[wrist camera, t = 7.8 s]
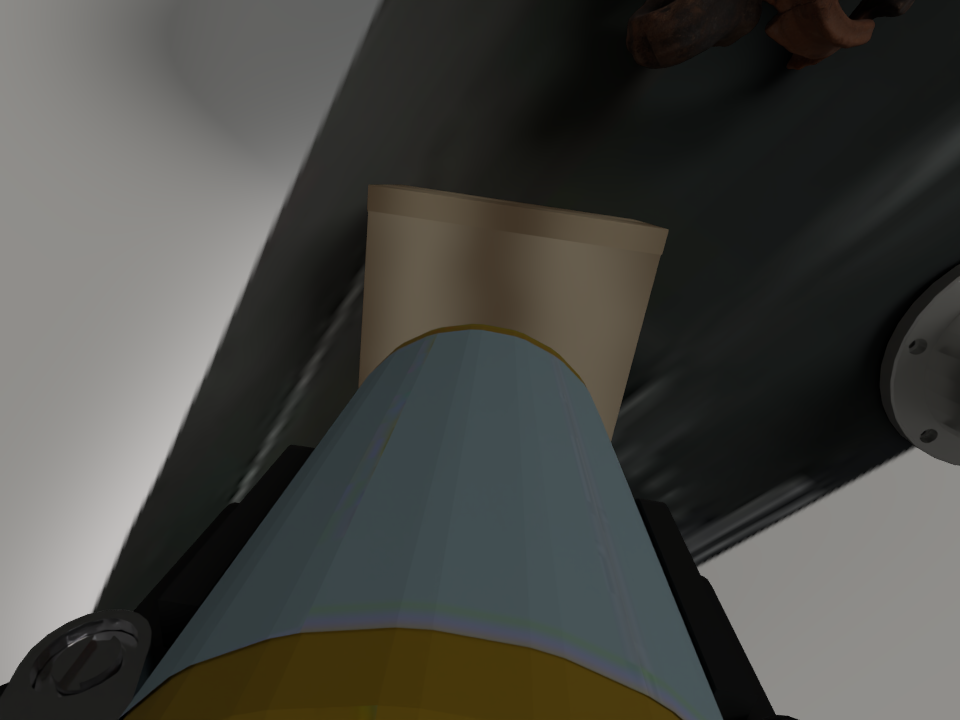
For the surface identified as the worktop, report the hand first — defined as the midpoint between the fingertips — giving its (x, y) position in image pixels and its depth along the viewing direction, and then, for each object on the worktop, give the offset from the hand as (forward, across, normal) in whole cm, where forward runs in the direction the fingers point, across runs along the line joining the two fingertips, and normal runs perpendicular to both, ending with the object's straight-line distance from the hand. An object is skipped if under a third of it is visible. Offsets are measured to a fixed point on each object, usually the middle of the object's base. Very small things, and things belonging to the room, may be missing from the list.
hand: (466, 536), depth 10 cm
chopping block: (+18, 0, 0) cm, 18 cm away
